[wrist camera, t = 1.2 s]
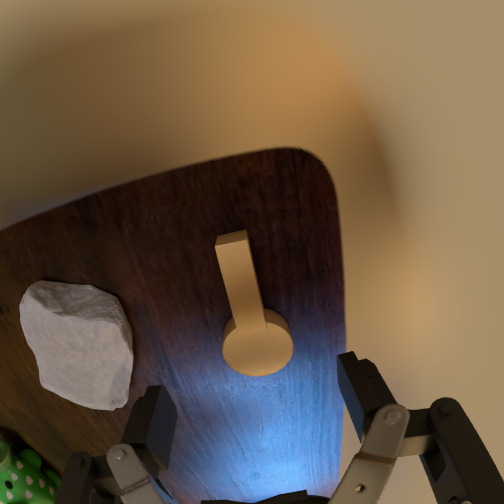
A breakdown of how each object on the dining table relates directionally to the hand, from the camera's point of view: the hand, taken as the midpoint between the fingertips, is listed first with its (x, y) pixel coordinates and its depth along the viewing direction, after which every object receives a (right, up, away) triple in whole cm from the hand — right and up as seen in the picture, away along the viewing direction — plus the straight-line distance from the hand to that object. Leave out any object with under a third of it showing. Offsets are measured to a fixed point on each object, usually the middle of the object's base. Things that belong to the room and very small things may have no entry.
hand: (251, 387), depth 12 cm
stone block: (-14, -2, +10) cm, 18 cm away
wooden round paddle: (0, +3, +9) cm, 10 cm away
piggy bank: (-41, -32, +19) cm, 56 cm away
